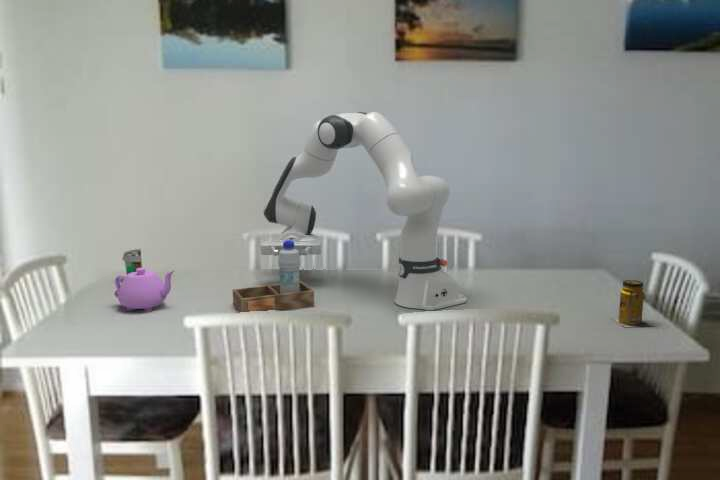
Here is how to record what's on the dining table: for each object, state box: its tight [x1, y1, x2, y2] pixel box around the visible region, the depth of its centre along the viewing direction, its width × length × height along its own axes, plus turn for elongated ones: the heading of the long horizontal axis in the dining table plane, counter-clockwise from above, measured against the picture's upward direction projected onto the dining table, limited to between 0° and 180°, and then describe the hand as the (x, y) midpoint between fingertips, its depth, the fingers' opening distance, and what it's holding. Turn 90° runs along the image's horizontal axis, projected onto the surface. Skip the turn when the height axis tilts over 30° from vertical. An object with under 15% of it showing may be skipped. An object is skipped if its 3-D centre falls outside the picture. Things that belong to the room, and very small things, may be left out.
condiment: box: [613, 279, 654, 328], centre depth 183 cm, size 7×8×12 cm
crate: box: [232, 281, 315, 313], centre depth 201 cm, size 22×12×5 cm, turn 113°
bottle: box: [277, 241, 301, 294], centre depth 202 cm, size 7×7×20 cm
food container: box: [121, 248, 143, 275], centre depth 231 cm, size 12×6×10 cm, turn 17°
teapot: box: [114, 267, 176, 312], centre depth 200 cm, size 20×14×12 cm
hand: (290, 253), depth 213 cm, fingers open, 8 cm apart
